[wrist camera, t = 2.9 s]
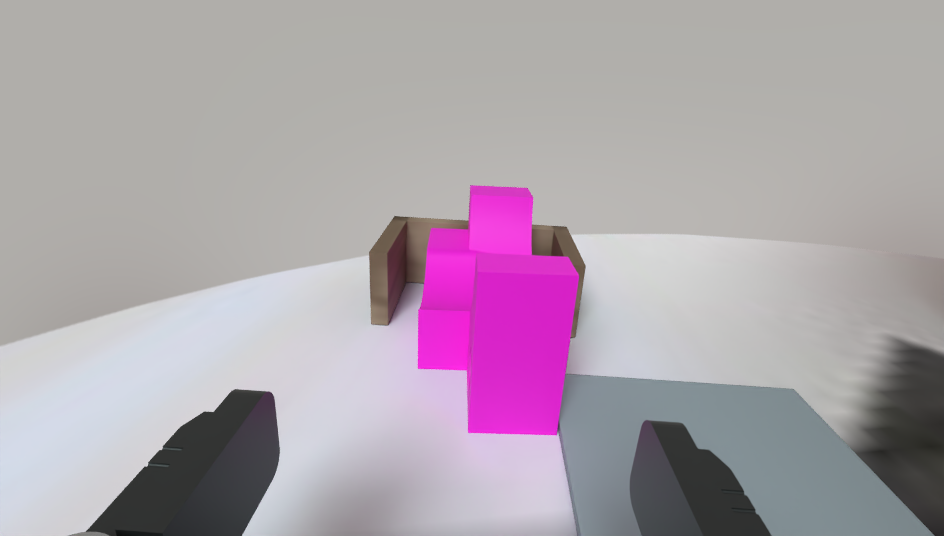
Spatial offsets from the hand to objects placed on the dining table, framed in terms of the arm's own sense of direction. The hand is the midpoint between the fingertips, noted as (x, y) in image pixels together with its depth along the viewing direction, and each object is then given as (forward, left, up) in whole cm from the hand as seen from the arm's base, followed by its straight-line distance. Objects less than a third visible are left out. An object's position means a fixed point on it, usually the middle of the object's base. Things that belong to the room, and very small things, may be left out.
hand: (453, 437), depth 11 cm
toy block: (0, -16, -7) cm, 17 cm away
